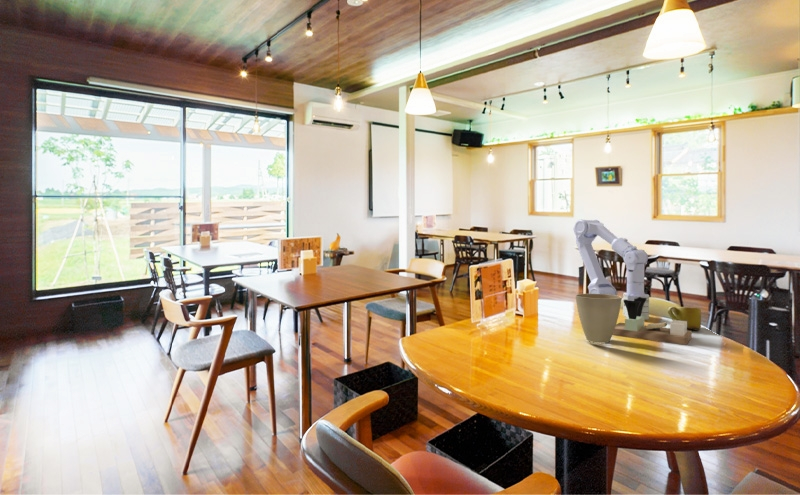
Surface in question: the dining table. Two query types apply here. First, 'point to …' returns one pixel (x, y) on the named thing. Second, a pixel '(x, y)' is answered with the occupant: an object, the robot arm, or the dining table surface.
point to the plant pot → (598, 315)
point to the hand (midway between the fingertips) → (634, 317)
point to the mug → (687, 316)
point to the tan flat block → (656, 325)
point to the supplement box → (644, 311)
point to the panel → (653, 334)
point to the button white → (678, 327)
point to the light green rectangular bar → (634, 323)
